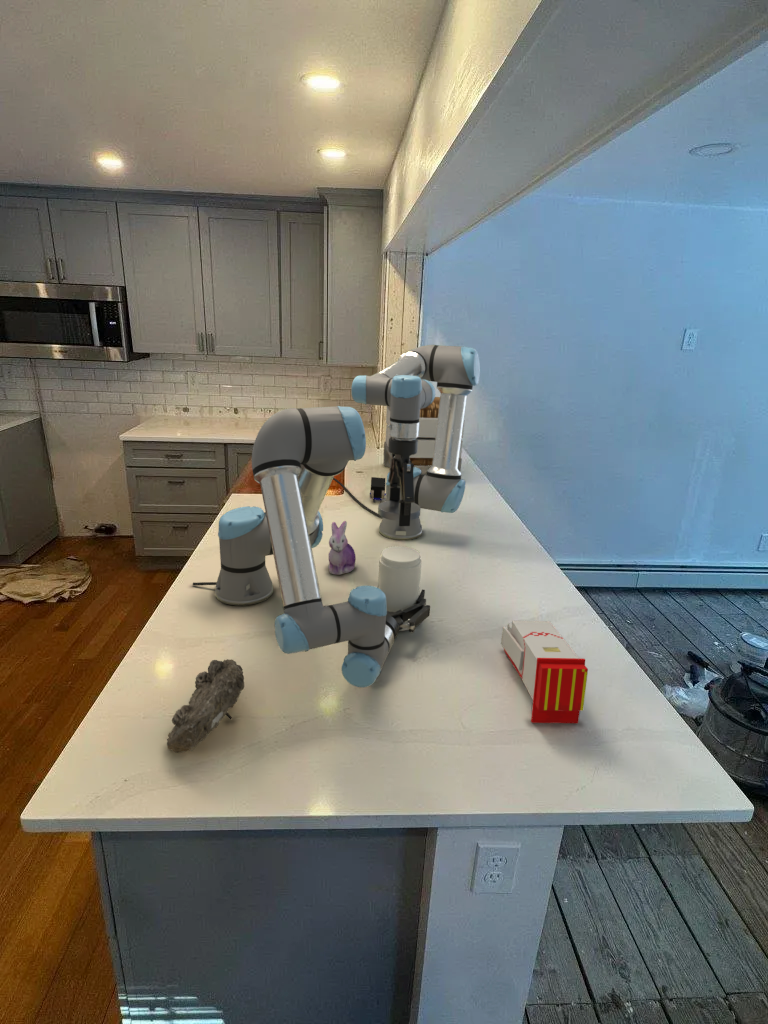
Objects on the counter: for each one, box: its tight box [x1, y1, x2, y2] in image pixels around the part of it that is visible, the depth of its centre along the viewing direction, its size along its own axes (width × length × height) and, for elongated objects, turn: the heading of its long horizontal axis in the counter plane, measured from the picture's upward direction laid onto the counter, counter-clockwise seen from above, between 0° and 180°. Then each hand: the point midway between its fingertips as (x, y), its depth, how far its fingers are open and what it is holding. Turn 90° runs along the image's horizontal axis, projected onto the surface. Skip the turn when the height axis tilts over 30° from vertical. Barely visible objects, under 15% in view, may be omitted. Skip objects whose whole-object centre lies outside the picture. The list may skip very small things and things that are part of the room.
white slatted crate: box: [383, 396, 465, 474], centre depth 268 cm, size 34×33×41 cm
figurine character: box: [369, 476, 386, 504], centre depth 234 cm, size 7×8×15 cm
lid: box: [377, 500, 422, 521], centre depth 152 cm, size 11×11×2 cm
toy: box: [500, 620, 589, 724], centre depth 121 cm, size 12×13×30 cm
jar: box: [377, 545, 422, 632], centre depth 141 cm, size 10×10×19 cm
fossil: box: [166, 658, 245, 754], centre depth 106 cm, size 22×10×15 cm
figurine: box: [327, 520, 357, 576], centre depth 168 cm, size 9×10×15 cm
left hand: (402, 590), depth 146 cm, fingers closed on jar, 10 cm apart
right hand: (398, 517), depth 152 cm, fingers closed on lid, 11 cm apart
